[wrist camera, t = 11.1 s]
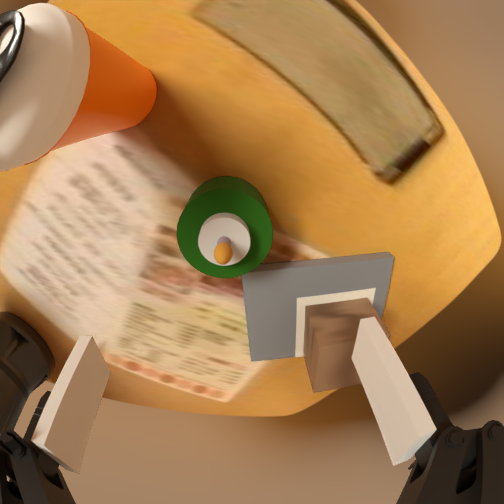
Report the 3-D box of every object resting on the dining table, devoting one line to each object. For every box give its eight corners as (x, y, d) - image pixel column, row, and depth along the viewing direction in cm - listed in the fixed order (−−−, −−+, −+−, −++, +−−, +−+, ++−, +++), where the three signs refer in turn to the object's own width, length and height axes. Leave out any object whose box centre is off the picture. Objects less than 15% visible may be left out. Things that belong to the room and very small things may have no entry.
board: (250, 353, 38) (251, 361, 37) (241, 266, 32) (241, 273, 30) (371, 336, 38) (375, 343, 37) (388, 251, 32) (394, 257, 31)
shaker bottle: (185, 92, 23) (78, 41, 5) (122, 155, 26) (-25, 227, 8) (130, 39, 20) (0, -32, 2) (73, 102, 22) (-82, 120, 4)
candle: (251, 164, 27) (260, 187, 18) (276, 237, 31) (293, 289, 22) (174, 193, 28) (146, 229, 19) (204, 261, 31) (194, 318, 22)
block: (302, 352, 36) (313, 392, 30) (305, 305, 33) (319, 347, 26) (358, 343, 36) (375, 380, 30) (367, 297, 33) (390, 334, 27)
